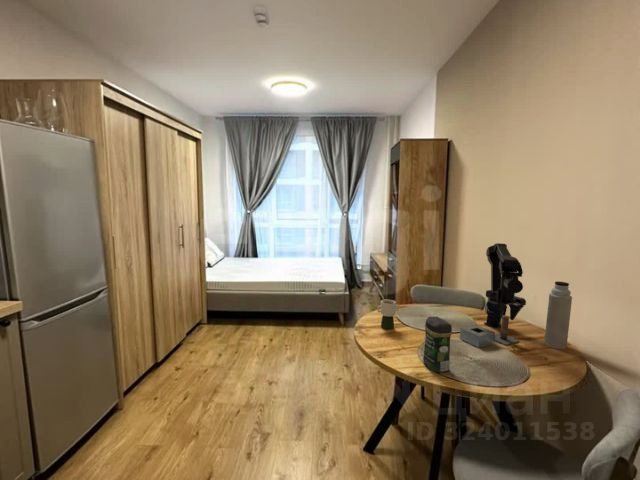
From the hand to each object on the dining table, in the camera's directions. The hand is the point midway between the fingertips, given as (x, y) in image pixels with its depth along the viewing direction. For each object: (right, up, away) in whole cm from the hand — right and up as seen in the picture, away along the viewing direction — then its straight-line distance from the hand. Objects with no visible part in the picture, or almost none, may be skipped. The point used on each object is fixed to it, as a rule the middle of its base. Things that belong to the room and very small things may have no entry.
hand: (504, 321), depth 150 cm
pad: (0, -9, +1) cm, 9 cm away
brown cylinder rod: (0, -8, +1) cm, 8 cm away
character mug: (-49, -7, +14) cm, 52 cm away
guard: (-13, -9, 0) cm, 15 cm away
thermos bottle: (+20, -10, -3) cm, 22 cm away
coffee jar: (-39, -11, -24) cm, 47 cm away
